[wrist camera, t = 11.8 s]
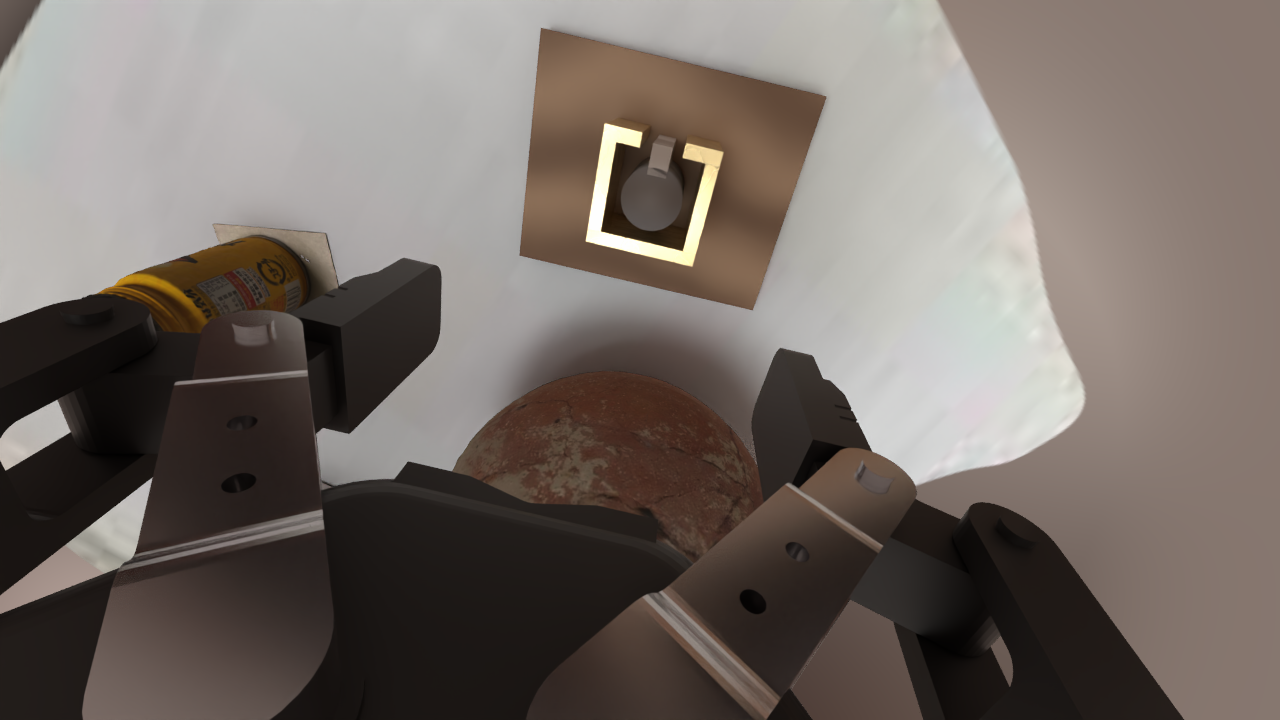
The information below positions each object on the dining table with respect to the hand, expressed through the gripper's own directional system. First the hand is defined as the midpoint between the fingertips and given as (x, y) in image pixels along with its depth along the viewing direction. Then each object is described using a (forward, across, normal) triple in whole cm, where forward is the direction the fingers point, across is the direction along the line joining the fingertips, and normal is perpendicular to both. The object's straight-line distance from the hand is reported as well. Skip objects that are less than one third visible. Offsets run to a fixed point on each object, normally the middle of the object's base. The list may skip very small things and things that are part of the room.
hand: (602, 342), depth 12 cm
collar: (+22, 0, 0) cm, 22 cm away
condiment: (+23, +26, +13) cm, 37 cm away
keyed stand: (+23, 0, 0) cm, 23 cm away
